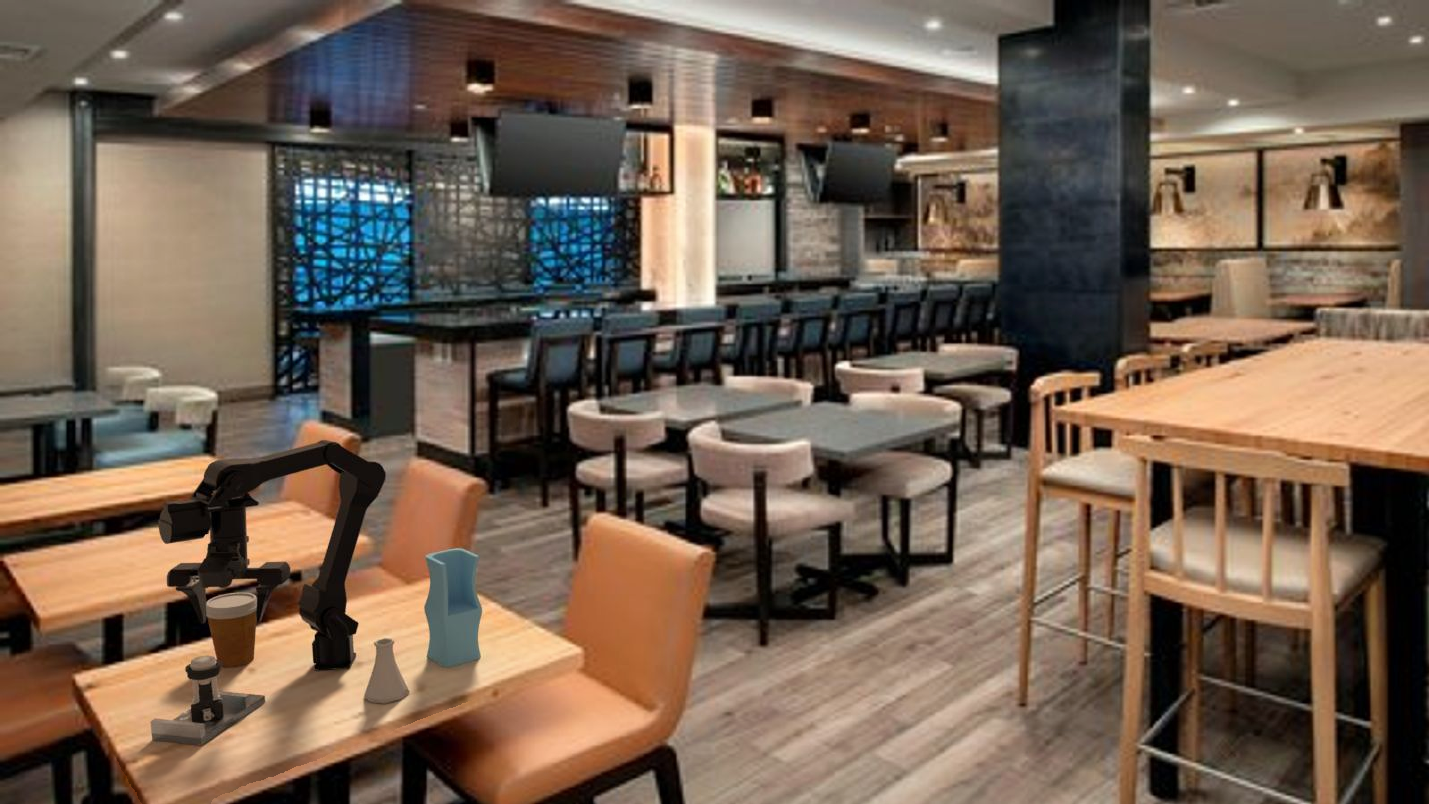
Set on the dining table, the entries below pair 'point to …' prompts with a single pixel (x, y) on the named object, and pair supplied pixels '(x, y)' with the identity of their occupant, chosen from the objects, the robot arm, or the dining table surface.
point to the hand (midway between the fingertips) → (231, 622)
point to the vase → (453, 607)
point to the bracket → (206, 730)
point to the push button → (204, 689)
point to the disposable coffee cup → (233, 627)
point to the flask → (385, 675)
